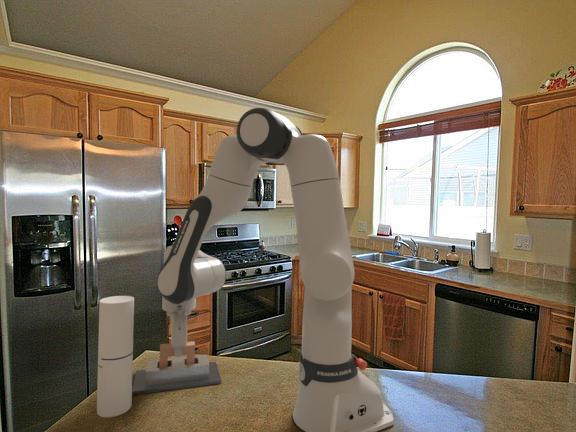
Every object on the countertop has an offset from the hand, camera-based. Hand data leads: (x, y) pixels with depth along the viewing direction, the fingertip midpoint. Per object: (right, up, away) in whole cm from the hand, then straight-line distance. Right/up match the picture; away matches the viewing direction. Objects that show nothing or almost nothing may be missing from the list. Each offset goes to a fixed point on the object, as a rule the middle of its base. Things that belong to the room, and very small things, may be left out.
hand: (177, 352), depth 93 cm
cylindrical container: (-10, -7, -15) cm, 19 cm away
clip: (0, -5, 0) cm, 5 cm away
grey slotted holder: (0, -7, 0) cm, 7 cm away
